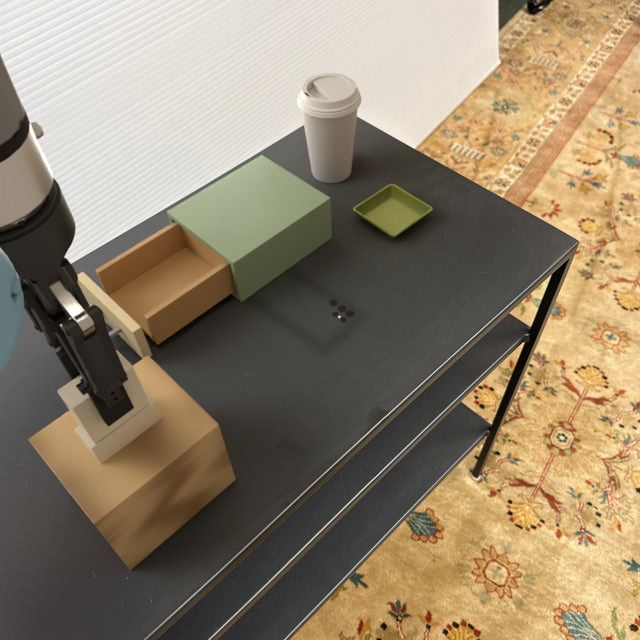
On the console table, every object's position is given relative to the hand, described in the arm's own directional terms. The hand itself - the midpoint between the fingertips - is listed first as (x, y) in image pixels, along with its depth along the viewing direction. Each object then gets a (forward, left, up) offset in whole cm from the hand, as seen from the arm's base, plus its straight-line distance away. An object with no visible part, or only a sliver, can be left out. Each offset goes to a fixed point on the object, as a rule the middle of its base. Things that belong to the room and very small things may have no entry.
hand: (107, 401), depth 58 cm
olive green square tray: (+51, +10, -18) cm, 55 cm away
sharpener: (0, 0, -5) cm, 5 cm away
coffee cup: (+53, +25, -18) cm, 61 cm away
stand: (0, 0, -17) cm, 17 cm away
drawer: (+15, +21, -16) cm, 31 cm away
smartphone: (+30, +8, -18) cm, 36 cm away
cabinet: (+33, +21, -17) cm, 43 cm away
